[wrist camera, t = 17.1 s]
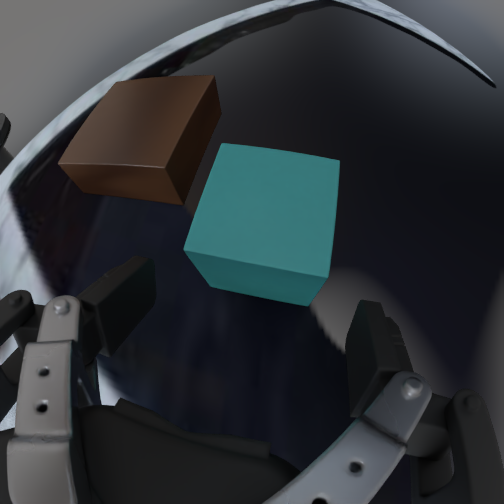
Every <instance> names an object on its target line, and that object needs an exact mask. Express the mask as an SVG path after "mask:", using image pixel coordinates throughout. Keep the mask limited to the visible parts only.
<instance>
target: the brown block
mask: <svg viewBox="0 0 504 504" xmlns="http://www.w3.org/2000/svg"><path fill="white" fill-rule="evenodd" d="M220 116H221V108H220V102H219V97H218V91H217V87H216V80H215V76H214V75H199V76H198V75H194V76H170V77H156V78H145V79H136V80H127V81H120V82H116V83H115V84H114V85H113V86H112V87H111V89H110V90H109V91H108V92H107V93H106V95H105V96H104V97H103V98H102V100H101V101H100V102H99V103H98V105H97V106H96V107H95V109H94V110H93V111H92V113H91V114H90V115H89V117H88V118H87V119H86V121H85V122H84V124H83V125H82V127H81V128H80V129H79V131H78V132H77V134H76V135H75V137H74V138H73V140H72V141H71V143H70V144H69V146H68V148H67V149H66V151H65V152H64V154H63V156H62V157H61V159H60V161H59V162H58V164H59V165H60V167H61V168H62V169H63V170H64V171H65V172H66V173H67V175H68V176H69V177H70V178H71V179H72V180H73V181H74V182H75V184H76V185H77V186H78V187H79V188H80V189H81V190H82V191H83V192H84V193H90V194H99V195H108V196H116V197H125V198H133V199H141V200H148V201H156V202H163V203H171V204H178V205H184V203H185V200H186V197H187V195H188V192H189V190H190V187H191V185H192V182H193V180H194V177H195V174H196V172H197V170H198V167H199V165H200V162H201V160H202V157H203V155H204V153H205V150H206V148H207V145H208V143H209V141H210V139H211V136H212V134H213V132H214V129H215V127H216V125H217V123H218V120H219V118H220Z"/></svg>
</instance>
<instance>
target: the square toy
mask: <svg viewBox="0 0 504 504" xmlns="http://www.w3.org/2000/svg"><path fill="white" fill-rule="evenodd" d="M339 170H340V161H338V160H334V159H328V158H323V157H318V156H312V155H307V154H301V153H295V152H289V151H283V150H275V149H269V148H261V147H253V146H244V145H236V144H226V143H222V144H221V146H220V149H219V151H218V154H217V156H216V159H215V162H214V164H213V167H212V169H211V172H210V175H209V177H208V180H207V183H206V185H205V188H204V191H203V194H202V196H201V199H200V202H199V205H198V208H197V211H196V213H195V216H194V219H193V222H192V225H191V228H190V231H189V234H188V237H187V240H186V243H185V246H184V251H185V253H186V254H187V255H188V257H189V258H190V260H191V261H192V262H193V264H194V265H195V266H196V268H197V269H198V270H199V272H200V273H201V274H202V276H203V277H204V278H205V280H206V281H207V282H208V284H209V285H210V286H211V287H214V288H219V289H224V290H228V291H233V292H237V293H242V294H247V295H252V296H257V297H262V298H267V299H272V300H277V301H282V302H287V303H292V304H298V305H303V306H309V305H310V303H311V302H312V300H313V299H314V297H315V296H316V295H317V293H318V292H319V290H320V289H321V288H322V286H323V284H324V283H325V282H326V280H327V279H328V277H329V271H330V263H331V254H332V247H333V239H334V230H335V220H336V209H337V198H338V185H339Z"/></svg>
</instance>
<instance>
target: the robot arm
mask: <svg viewBox="0 0 504 504" xmlns="http://www.w3.org/2000/svg"><path fill="white" fill-rule="evenodd" d="M155 300H156V281H155V265H154V261H153V260H152V259H149V258H144V257H140V256H133V257H132V258H131V259H129V260H128V261H127V262H125V263H124V264H123V265H120V266H117V267H115V268H112V269H111V270H109V271H108V272H107V273H105V274H104V275H103V277H100V278H99V279H98V280H97V282H96V281H95V282H94V283H93V284H91V285H90V286H89V287H88V288H86V289H85V290H84V291H83V292H81V293H80V294H79V295H78V296H77V297H73V296H59V297H56V298H54V299H52V300H50V301H49V302H48V303H47V304H46V305H37V304H34V303H33V299H32V296H31V294H30V292H28V291H26V290H18V291H14V292H11V293H10V294H8V295H7V296H5V297H4V298H3V299H1V300H0V346H1V345H2V344H3V343H4V342H5V341H6V340H7V339H8V338H9V337H10V336H11V335H12V334H13V336H14V338H15V340H16V342H17V344H18V348H17V349H16V350H15V351H14V352H13V353H12V354H11V355H10V356H9V357H8V358H7V359H6V361H5V362H4V363H3V364H2V365H1V366H0V423H1V421H2V420H3V418H4V417H5V416H6V414H7V413H8V412H9V410H10V409H11V408H12V406H13V405H14V404H15V402H16V401H17V406H16V418H15V428H11V429H7V430H3V431H0V504H368V503H369V501H370V500H371V499H372V498H373V496H374V495H375V494H376V493H377V491H378V490H379V489H380V487H381V486H382V485H383V484H384V482H385V481H386V479H387V478H388V477H389V475H390V474H391V472H392V471H393V470H394V468H395V467H396V465H397V464H398V462H399V461H400V459H401V458H402V456H403V455H404V453H405V454H408V455H410V471H411V504H504V469H503V464H502V459H501V455H500V451H499V447H498V443H497V439H496V436H495V432H494V428H493V425H492V422H491V419H490V416H489V412H488V409H487V407H486V404H485V402H484V400H483V398H482V397H481V396H480V395H479V394H478V393H476V392H475V391H473V390H470V389H461V390H459V391H458V392H456V394H455V395H454V396H453V398H452V399H450V398H447V397H443V396H440V395H436V394H434V393H432V390H431V387H430V385H429V383H428V382H427V381H426V379H425V378H424V377H422V376H421V375H419V374H417V373H414V371H413V368H412V365H411V362H410V359H409V356H408V353H407V350H406V347H405V346H404V341H403V338H402V335H401V332H400V330H399V327H398V325H397V324H396V323H395V322H394V321H393V320H392V319H391V318H390V317H385V314H384V311H383V309H382V306H381V303H379V302H373V301H366V300H360V302H359V304H358V306H357V309H356V312H355V315H354V318H353V320H352V323H351V326H350V328H349V331H348V334H347V338H346V344H345V351H346V361H347V373H348V387H349V403H350V417H358V418H357V419H356V420H355V421H354V422H353V423H352V424H351V425H350V426H349V427H348V428H347V429H346V430H345V432H344V433H343V434H342V435H341V436H340V437H339V438H338V439H337V440H336V441H335V442H334V443H333V444H332V445H331V446H330V447H329V448H328V449H327V450H326V451H325V452H324V453H323V454H322V455H320V456H319V457H318V458H317V459H316V460H315V461H314V462H313V463H312V464H311V465H310V466H308V467H307V468H306V469H305V470H304V471H303V472H302V473H301V472H300V471H299V470H298V469H297V468H295V467H294V466H293V465H292V464H290V463H288V462H287V461H285V460H284V459H282V458H280V457H278V456H276V455H273V454H271V453H269V452H270V447H271V443H269V442H264V441H258V440H253V439H248V438H243V437H239V436H234V435H225V434H206V433H192V432H187V431H184V430H183V429H181V428H179V427H178V426H176V425H174V424H173V423H171V422H169V421H168V420H166V419H165V418H163V417H161V416H160V415H158V414H157V413H155V412H154V411H152V410H149V409H147V408H144V407H142V406H139V405H137V404H134V403H132V402H130V401H127V400H125V399H123V398H120V399H119V400H118V402H117V403H116V405H115V406H109V405H102V404H101V400H100V391H99V381H98V369H97V360H96V356H97V354H98V353H100V354H103V355H105V356H107V357H109V358H110V357H111V356H112V355H113V353H114V352H115V351H116V350H117V349H118V347H119V346H120V345H121V344H122V343H123V341H124V340H125V339H126V338H127V337H128V335H129V334H130V333H131V332H132V331H133V329H134V328H135V327H136V326H137V325H138V323H139V322H140V321H141V320H142V319H143V318H144V316H145V315H146V314H147V313H148V312H149V311H150V309H151V308H152V307H153V305H154V303H155ZM451 450H452V454H453V461H454V475H453V477H452V468H451V461H450V454H449V452H450V451H451Z"/></svg>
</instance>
